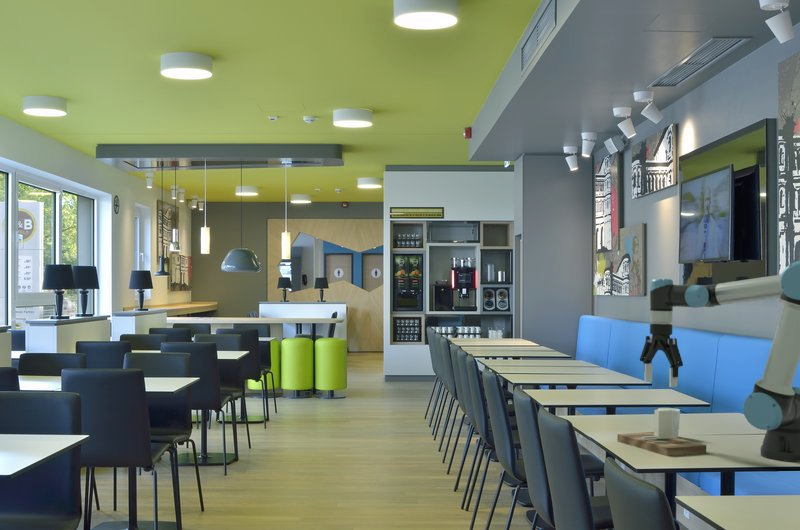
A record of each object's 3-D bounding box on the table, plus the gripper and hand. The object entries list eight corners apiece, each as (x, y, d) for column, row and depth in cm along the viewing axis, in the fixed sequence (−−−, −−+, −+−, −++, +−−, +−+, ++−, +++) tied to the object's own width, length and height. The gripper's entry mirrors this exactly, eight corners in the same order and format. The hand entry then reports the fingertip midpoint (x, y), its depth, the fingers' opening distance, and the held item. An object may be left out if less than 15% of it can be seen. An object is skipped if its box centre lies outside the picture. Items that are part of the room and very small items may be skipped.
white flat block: (671, 438, 285) (671, 410, 285) (645, 439, 280) (645, 411, 281) (667, 436, 287) (667, 409, 287) (640, 438, 282) (641, 410, 283)
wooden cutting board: (706, 452, 275) (706, 444, 275) (667, 455, 269) (667, 447, 269) (654, 438, 299) (654, 431, 299) (617, 441, 293) (617, 433, 293)
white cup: (681, 439, 299) (681, 411, 300) (658, 438, 301) (658, 410, 301) (678, 435, 307) (678, 408, 307) (656, 434, 309) (656, 407, 309)
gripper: (694, 325, 280) (693, 388, 279) (647, 321, 303) (647, 380, 302) (675, 325, 277) (675, 389, 276) (630, 321, 300) (629, 380, 300)
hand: (660, 384), depth 289 cm, fingers open, 13 cm apart
